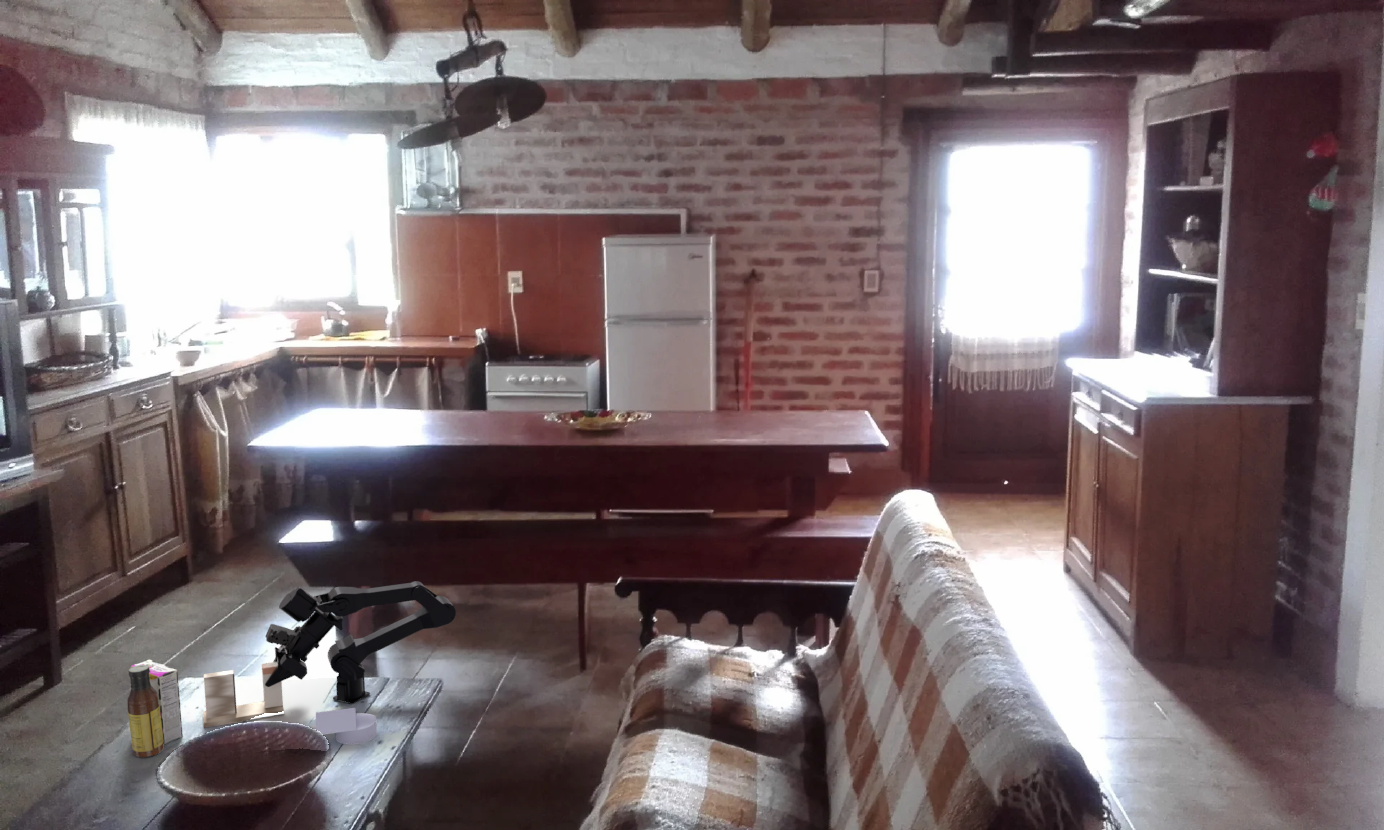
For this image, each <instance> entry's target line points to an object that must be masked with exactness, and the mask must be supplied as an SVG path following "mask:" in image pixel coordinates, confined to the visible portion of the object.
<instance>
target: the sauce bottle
mask: <svg viewBox="0 0 1384 830" xmlns="http://www.w3.org/2000/svg"><path fill="white" fill-rule="evenodd" d="M149 672H150V670H149V666H148V665H137V666H134V667H132V668H131V667H130V668H129V669H128V676H129V678H130V691H129V696H128V697H127V714H128V715H127V716H128V724H129V725H128V726H129V732H130V738H131V748H132V751H133V755H135V756H136V757H137V758H148V757H154V756H156V755H159V754H160V753H161V752H162V751H163V750H164V744H163V742H164V740H163V732H162V724H161V716H160V707H159V704H158V696H157V692H156V691H155V690H154V688H153V687H152V686H151V683H150V679H149Z"/></svg>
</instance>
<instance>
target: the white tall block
mask: <svg viewBox="0 0 1384 830" xmlns="http://www.w3.org/2000/svg"><path fill="white" fill-rule="evenodd" d="M276 667H277V662H264V663H261V673H262V689H263V692H262V693H263V701H264V705H265V708H270V707H276V706H282V705H283V706H284V700H283V699H284V698H283V686H282V682H283V681H281V682H279V683H277V684H274V685H272V686H270V687H267V686H266V685H265V683H266V682H267V680H268V679H269V677H270V676H271V674H272V673H273V671H274V670H275V668H276Z"/></svg>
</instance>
